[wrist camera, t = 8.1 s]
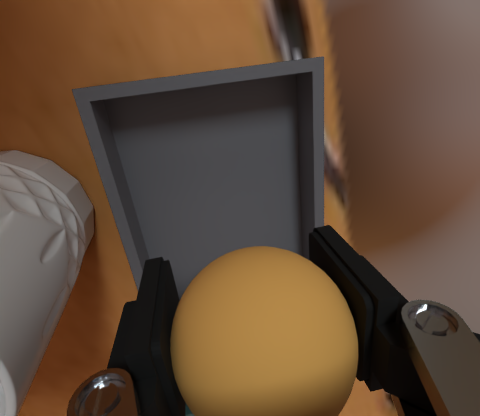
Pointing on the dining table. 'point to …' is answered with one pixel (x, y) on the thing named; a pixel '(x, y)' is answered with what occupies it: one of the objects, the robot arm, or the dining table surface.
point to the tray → (211, 161)
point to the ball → (263, 338)
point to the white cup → (35, 263)
